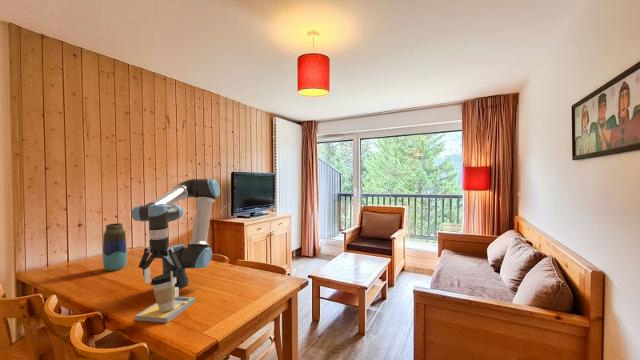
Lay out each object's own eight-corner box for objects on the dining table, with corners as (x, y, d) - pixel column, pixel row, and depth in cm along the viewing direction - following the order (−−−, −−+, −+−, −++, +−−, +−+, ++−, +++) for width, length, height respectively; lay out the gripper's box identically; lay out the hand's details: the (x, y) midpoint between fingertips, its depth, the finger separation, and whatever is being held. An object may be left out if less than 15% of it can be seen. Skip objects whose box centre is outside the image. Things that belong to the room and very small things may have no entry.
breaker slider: (166, 299, 136) (166, 289, 136) (171, 295, 140) (171, 286, 140) (173, 299, 135) (173, 290, 135) (178, 296, 139) (178, 287, 139)
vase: (131, 267, 192) (130, 223, 191) (107, 273, 180) (106, 226, 179) (122, 264, 199) (121, 222, 199) (99, 270, 187) (98, 225, 187)
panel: (134, 320, 120) (134, 315, 120) (167, 299, 141) (167, 294, 141) (166, 323, 118) (166, 317, 118) (195, 301, 138) (195, 296, 138)
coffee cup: (182, 301, 131) (178, 271, 131) (173, 311, 121) (168, 278, 121) (161, 305, 130) (157, 274, 130) (150, 315, 120) (145, 282, 120)
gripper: (128, 239, 123) (130, 285, 124) (177, 240, 119) (179, 288, 120) (141, 235, 130) (143, 278, 131) (188, 236, 126) (190, 281, 127)
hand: (160, 283), depth 125 cm, fingers open, 13 cm apart
